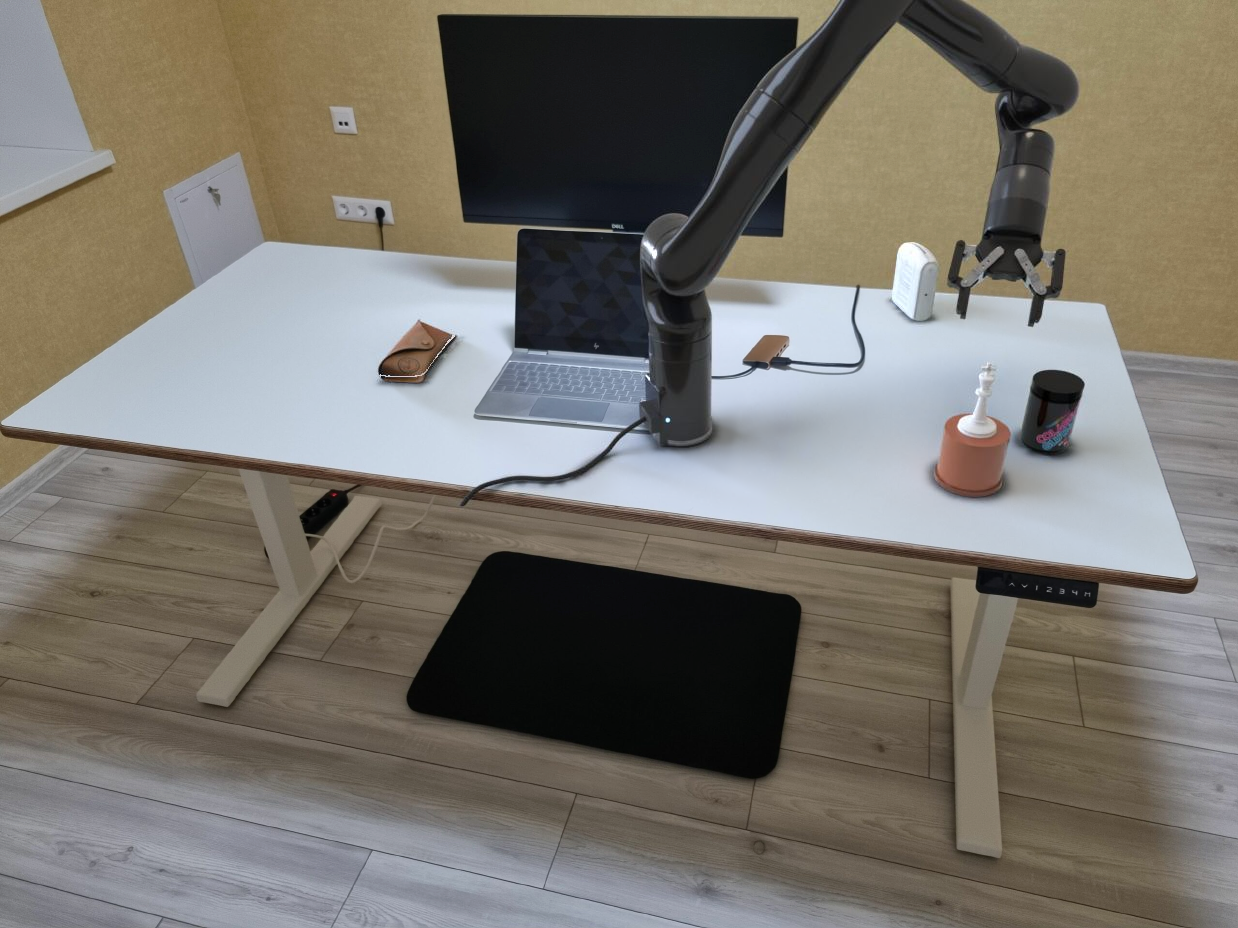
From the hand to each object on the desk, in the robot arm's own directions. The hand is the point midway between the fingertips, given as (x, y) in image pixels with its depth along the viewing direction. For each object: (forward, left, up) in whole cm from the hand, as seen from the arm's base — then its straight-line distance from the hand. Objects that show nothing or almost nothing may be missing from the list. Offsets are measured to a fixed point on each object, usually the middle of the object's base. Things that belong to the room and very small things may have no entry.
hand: (996, 321), depth 123 cm
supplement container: (+10, -3, -21) cm, 23 cm away
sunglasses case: (-71, +62, -21) cm, 97 cm away
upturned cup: (-5, -6, -20) cm, 22 cm away
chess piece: (-5, -6, -13) cm, 15 cm away
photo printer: (+18, +43, -21) cm, 51 cm away
